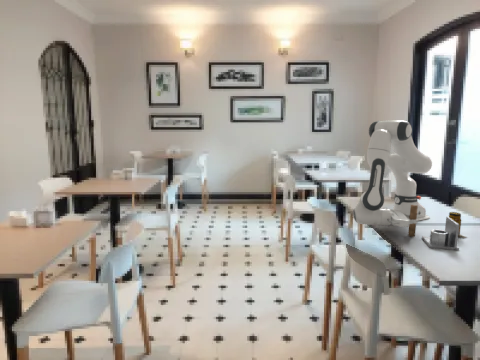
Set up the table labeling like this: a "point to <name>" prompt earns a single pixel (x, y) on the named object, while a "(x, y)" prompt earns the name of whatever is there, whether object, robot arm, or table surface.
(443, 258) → the table surface
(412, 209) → the wooden cylinder rod
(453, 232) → the cup bracket
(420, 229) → the table surface
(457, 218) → the condiment
